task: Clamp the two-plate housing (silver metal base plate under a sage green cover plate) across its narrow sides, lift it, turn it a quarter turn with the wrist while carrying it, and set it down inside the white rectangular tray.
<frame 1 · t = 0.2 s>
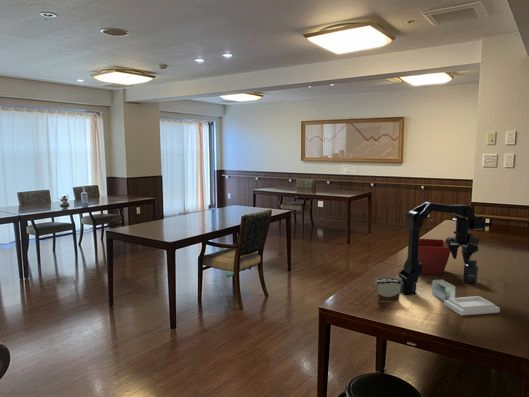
hand: (460, 261, 195), 14 cm above the table, tool pointing down, fingers open, 9 cm apart
housing: (443, 297, 186), on the table
food container: (386, 299, 184), on the table
plant pot: (427, 271, 226), on the table
supplement bottle: (470, 282, 207), on the table
white rectangular tray: (471, 308, 173), on the table
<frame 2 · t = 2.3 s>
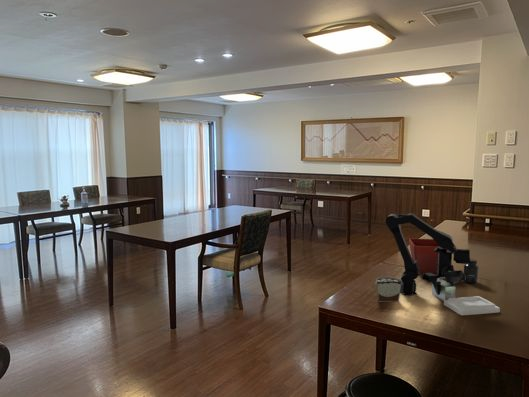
hand: (443, 294, 186), 2 cm above the table, tool pointing down, fingers closed on housing, 5 cm apart
housing: (443, 297, 186), on the table, touching gripper
everything else where it was.
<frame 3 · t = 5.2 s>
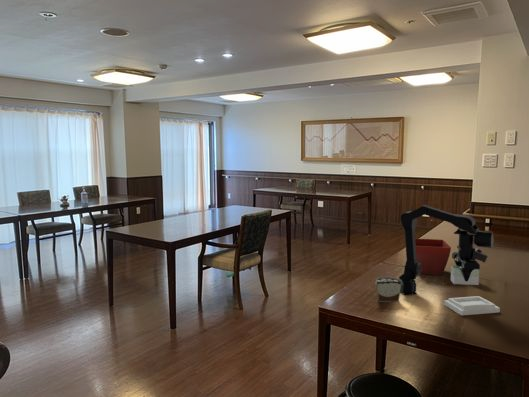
hand: (464, 279, 175), 12 cm above the table, tool pointing down, fingers closed on housing, 5 cm apart
housing: (464, 282, 175), point 10 cm above the table, touching gripper
everything else where it was.
when the fingers open (5 cm above the table, at t = 7.7 s): housing drops 1 cm, resting on white rectangular tray.
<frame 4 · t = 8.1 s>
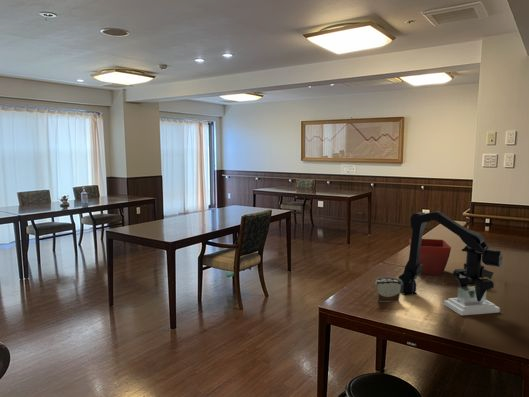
hand: (471, 297, 172), 5 cm above the table, tool pointing down, fingers open, 9 cm apart
housing: (471, 303, 173), point 2 cm above the table, touching white rectangular tray
everything else where it was.
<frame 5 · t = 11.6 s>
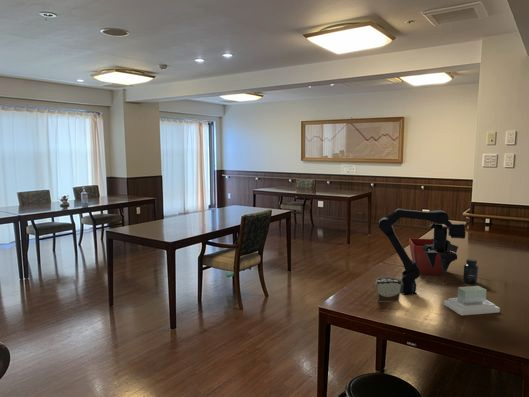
hand: (438, 269, 187), 13 cm above the table, tool pointing down, fingers open, 9 cm apart
nothing on the table moved.
at the end: housing 0.0 cm off-centre on the white rectangular tray, point 2.0 cm above the white rectangular tray's base; housing tilted 0°; the gripper is holding nothing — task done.
